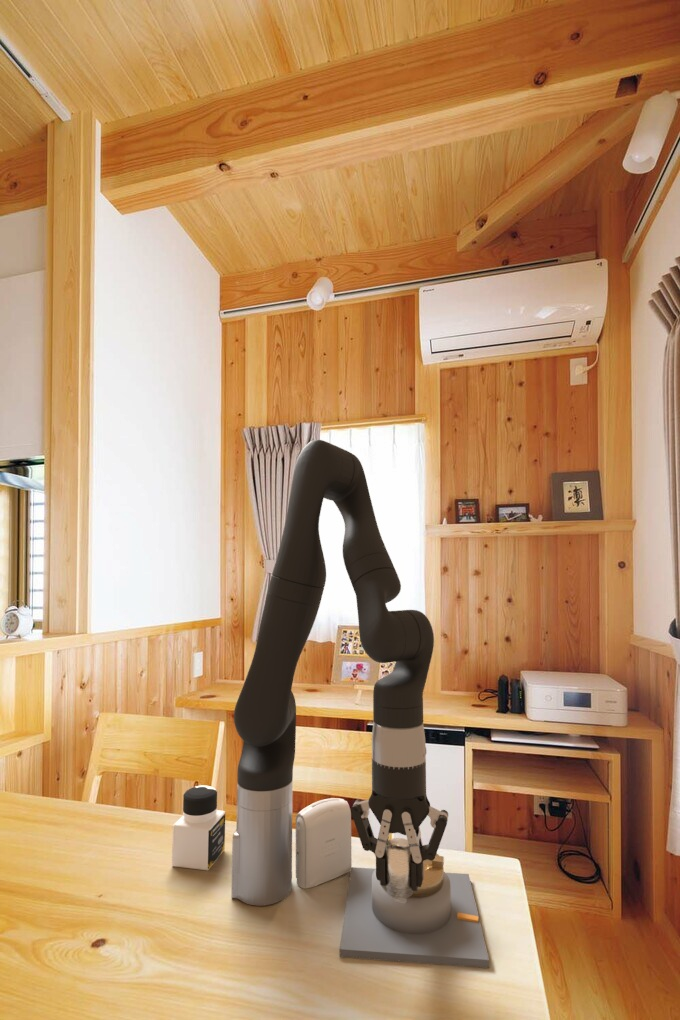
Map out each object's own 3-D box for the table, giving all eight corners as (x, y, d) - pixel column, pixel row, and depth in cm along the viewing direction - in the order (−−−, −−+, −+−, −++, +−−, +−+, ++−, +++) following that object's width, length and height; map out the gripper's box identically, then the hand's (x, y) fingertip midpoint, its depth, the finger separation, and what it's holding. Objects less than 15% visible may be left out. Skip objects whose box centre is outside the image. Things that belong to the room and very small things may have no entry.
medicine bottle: (208, 871, 94) (210, 799, 95) (171, 867, 96) (173, 796, 97) (225, 850, 101) (226, 783, 102) (190, 846, 103) (191, 780, 104)
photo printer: (304, 893, 88) (304, 813, 89) (291, 880, 92) (292, 804, 93) (355, 873, 94) (355, 798, 95) (341, 861, 97) (341, 790, 99)
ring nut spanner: (385, 856, 89) (384, 795, 90) (446, 865, 87) (445, 802, 88) (361, 920, 73) (361, 846, 74) (435, 934, 71) (434, 856, 71)
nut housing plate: (339, 957, 74) (339, 917, 74) (351, 873, 94) (351, 842, 94) (489, 968, 72) (488, 927, 72) (468, 880, 92) (468, 849, 92)
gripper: (342, 759, 74) (342, 892, 72) (447, 770, 70) (450, 911, 69) (355, 741, 81) (356, 862, 80) (451, 750, 77) (454, 878, 76)
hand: (399, 884), depth 74 cm, fingers closed on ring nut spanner, 3 cm apart
